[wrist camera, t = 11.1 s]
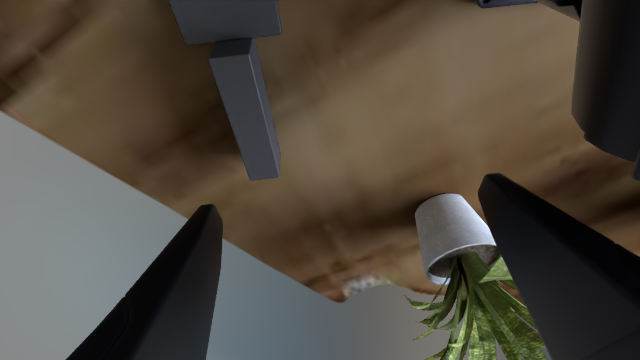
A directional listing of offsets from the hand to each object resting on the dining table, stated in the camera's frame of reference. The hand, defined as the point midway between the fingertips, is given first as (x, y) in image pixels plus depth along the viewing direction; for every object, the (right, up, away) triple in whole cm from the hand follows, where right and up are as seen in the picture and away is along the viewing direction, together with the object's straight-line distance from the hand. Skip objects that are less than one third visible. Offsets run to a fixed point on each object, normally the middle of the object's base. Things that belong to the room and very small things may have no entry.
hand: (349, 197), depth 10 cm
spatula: (-6, +8, +8) cm, 13 cm away
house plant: (+10, -2, +20) cm, 22 cm away
